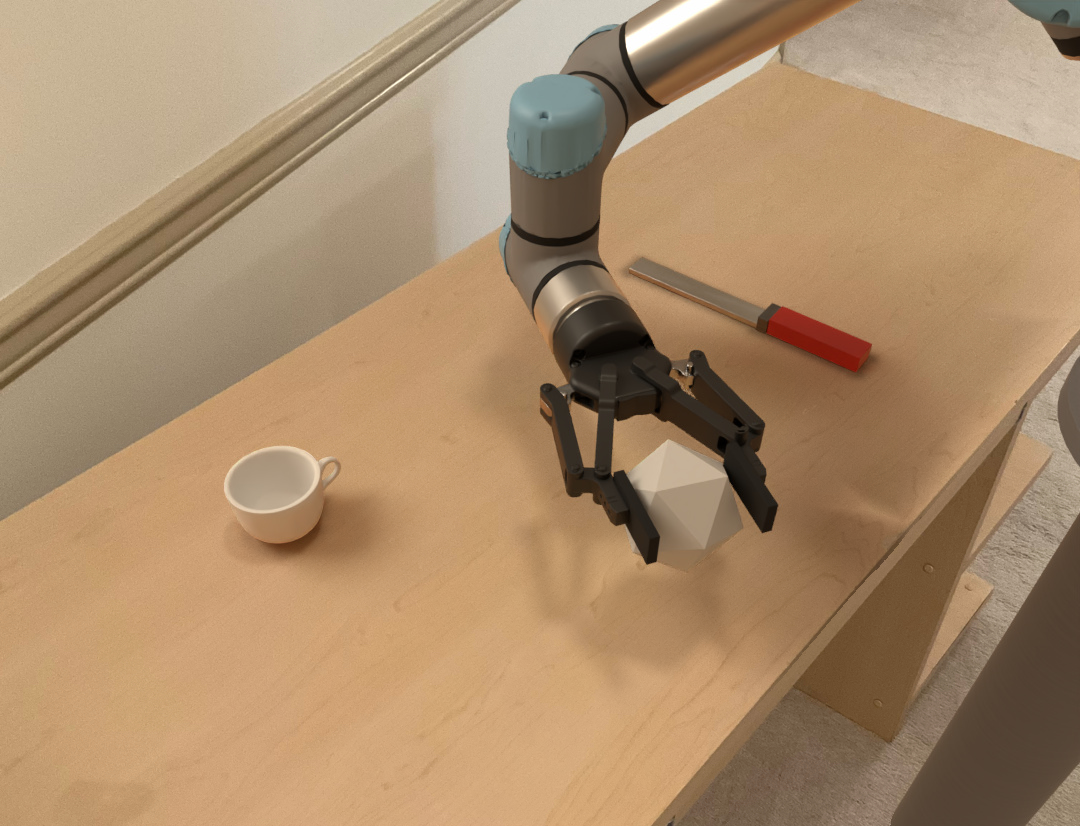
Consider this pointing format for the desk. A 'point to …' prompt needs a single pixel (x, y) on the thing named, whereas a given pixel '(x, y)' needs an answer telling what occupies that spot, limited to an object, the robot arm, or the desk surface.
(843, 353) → the knife
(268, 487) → the teacup
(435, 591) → the desk surface
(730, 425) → the robot arm
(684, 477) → the white icosahedron
